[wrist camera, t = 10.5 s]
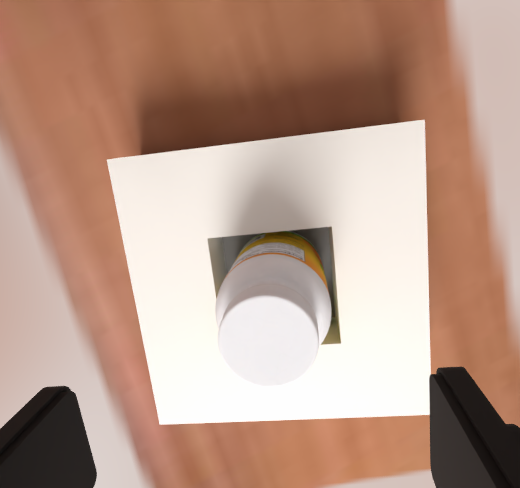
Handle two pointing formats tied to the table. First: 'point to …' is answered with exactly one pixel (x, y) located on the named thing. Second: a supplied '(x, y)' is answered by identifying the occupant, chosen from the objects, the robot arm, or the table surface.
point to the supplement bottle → (273, 310)
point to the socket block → (315, 231)
